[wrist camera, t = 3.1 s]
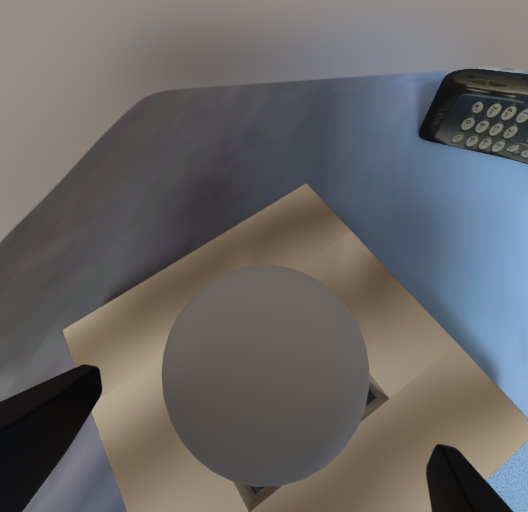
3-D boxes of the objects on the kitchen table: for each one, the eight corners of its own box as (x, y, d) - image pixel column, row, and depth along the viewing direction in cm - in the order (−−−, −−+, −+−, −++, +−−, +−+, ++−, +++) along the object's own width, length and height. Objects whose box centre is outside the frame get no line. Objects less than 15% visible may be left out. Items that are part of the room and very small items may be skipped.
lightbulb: (237, 311, 18) (176, 210, 8) (339, 335, 17) (410, 253, 7) (205, 422, 16) (66, 469, 6) (321, 458, 15) (389, 586, 5)
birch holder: (500, 424, 15) (538, 430, 13) (223, 677, 12) (209, 742, 10) (304, 205, 21) (306, 183, 19) (90, 338, 18) (62, 330, 16)
